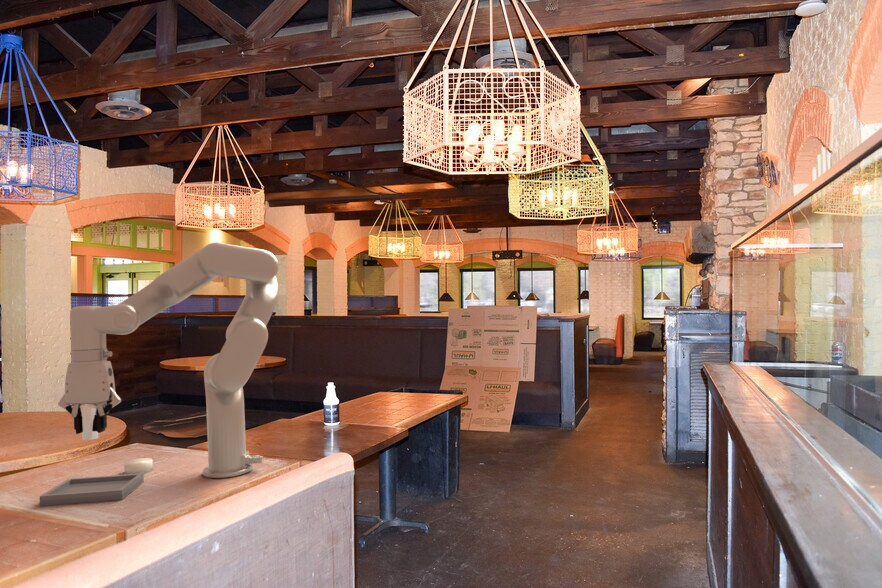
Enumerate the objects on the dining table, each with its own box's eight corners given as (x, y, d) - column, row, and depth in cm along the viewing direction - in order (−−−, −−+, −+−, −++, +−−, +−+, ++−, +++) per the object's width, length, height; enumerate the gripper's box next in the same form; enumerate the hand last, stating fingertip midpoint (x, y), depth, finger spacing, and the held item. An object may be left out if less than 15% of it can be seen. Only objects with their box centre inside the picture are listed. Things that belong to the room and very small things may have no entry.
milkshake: (94, 441, 147) (94, 399, 147) (74, 440, 148) (75, 399, 148) (108, 437, 152) (108, 396, 152) (89, 436, 153) (89, 396, 153)
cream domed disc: (156, 467, 172) (156, 457, 172) (147, 474, 165) (147, 463, 165) (130, 469, 172) (129, 458, 172) (120, 476, 165) (119, 465, 165)
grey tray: (143, 481, 158) (143, 473, 158) (122, 499, 144) (122, 490, 144) (68, 487, 156) (68, 478, 156) (39, 505, 142) (39, 496, 142)
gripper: (131, 354, 155) (132, 427, 155) (59, 356, 153) (61, 430, 153) (119, 356, 147) (121, 433, 147) (44, 359, 145) (45, 437, 145)
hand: (90, 431), depth 150 cm, fingers closed on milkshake, 4 cm apart
